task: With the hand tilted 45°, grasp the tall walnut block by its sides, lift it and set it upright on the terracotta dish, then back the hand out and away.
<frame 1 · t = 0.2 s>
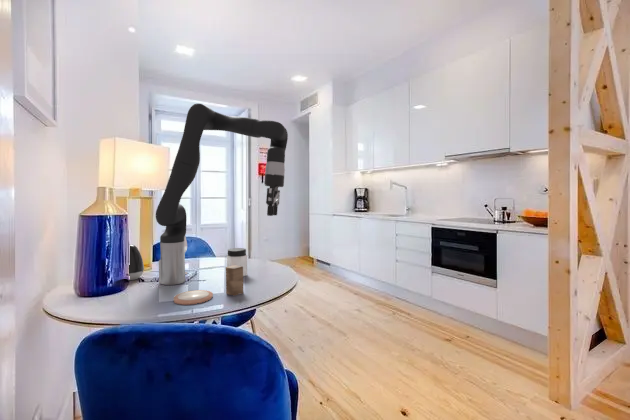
hand: (272, 215, 125), 29 cm above the table, tool pointing down, fingers open, 8 cm apart
dark grey tapered dome: (130, 279, 140), on the table
wineglass: (178, 274, 148), on the table
walnut block: (234, 293, 119), on the table
terracotta dish: (193, 298, 113), on the table
jar: (237, 276, 145), on the table
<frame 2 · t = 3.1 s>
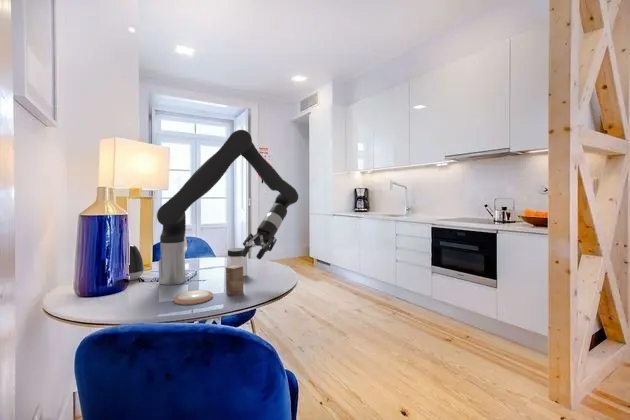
hand: (250, 256, 125), 12 cm above the table, tool tilted 45°, fingers open, 8 cm apart
nothing on the table moved.
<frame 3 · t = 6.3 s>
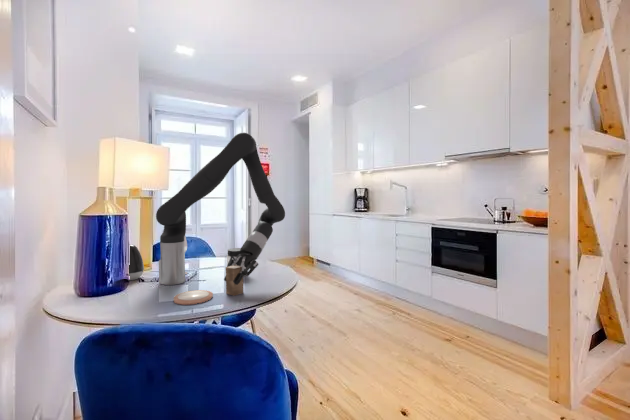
hand: (230, 282, 117), 5 cm above the table, tool tilted 45°, fingers closed on walnut block, 4 cm apart
walnut block: (234, 293, 119), on the table, touching gripper
everything else where it was.
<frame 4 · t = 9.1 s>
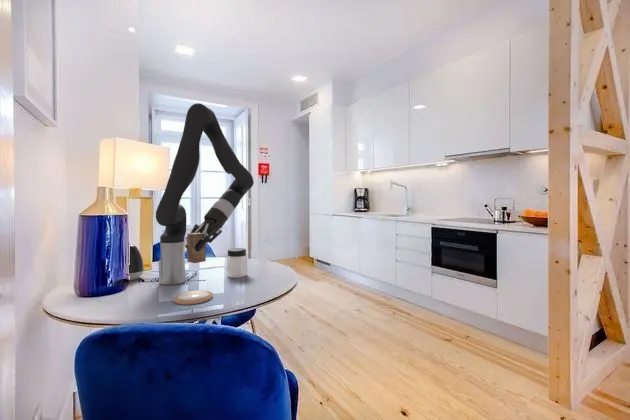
hand: (191, 249, 111), 18 cm above the table, tool tilted 45°, fingers closed on walnut block, 4 cm apart
walnut block: (196, 261, 113), point 13 cm above the table, touching gripper
everything else where it was.
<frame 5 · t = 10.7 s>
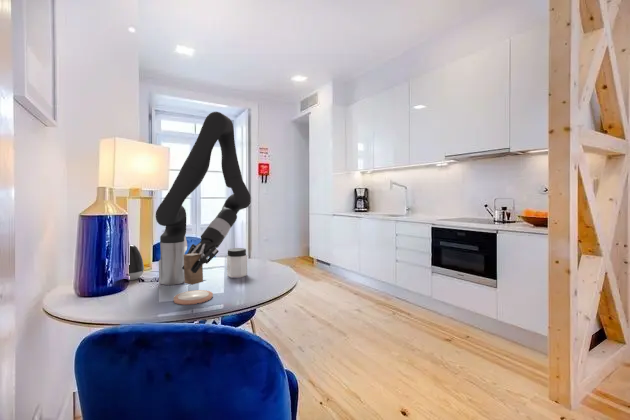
hand: (188, 270, 111), 10 cm above the table, tool tilted 45°, fingers closed on walnut block, 4 cm apart
walnut block: (193, 282, 113), point 6 cm above the table, touching gripper
everything else where it was.
when the fingers open (7 cm above the table, at t = 11.8 s): walnut block drops 1 cm, resting on terracotta dish.
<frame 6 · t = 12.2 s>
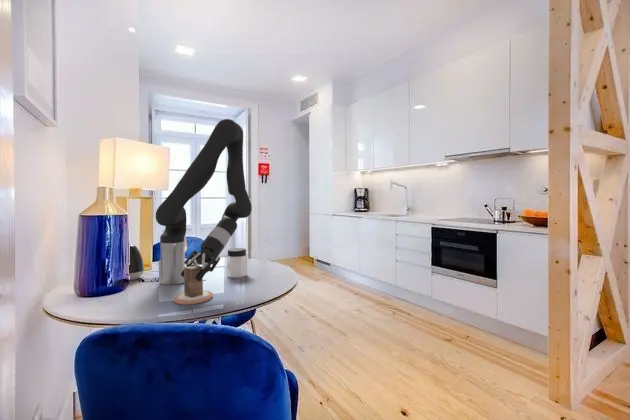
hand: (189, 278, 112), 8 cm above the table, tool tilted 45°, fingers open, 8 cm apart
walnut block: (193, 295, 113), point 1 cm above the table, touching terracotta dish
everything else where it was.
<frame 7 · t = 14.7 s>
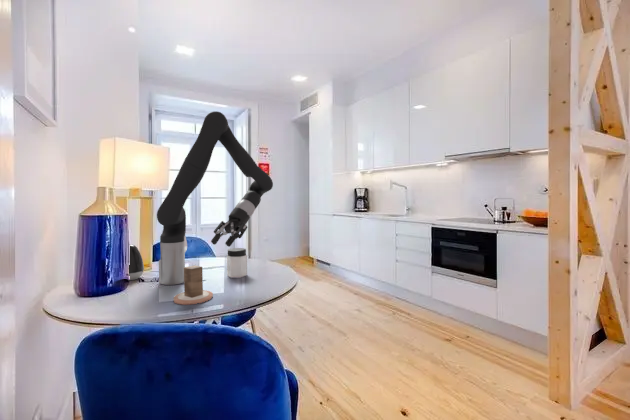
hand: (219, 244, 122), 18 cm above the table, tool tilted 45°, fingers open, 8 cm apart
nothing on the table moved.
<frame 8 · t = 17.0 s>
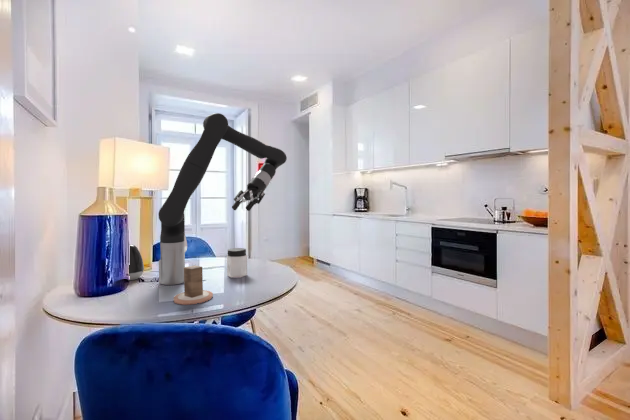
hand: (240, 209, 135), 31 cm above the table, tool tilted 45°, fingers open, 8 cm apart
nothing on the table moved.
at the end: walnut block 0.1 cm off-centre on the terracotta dish, point 1.2 cm above the terracotta dish's base; walnut block tilted 0°; the gripper is holding nothing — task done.
